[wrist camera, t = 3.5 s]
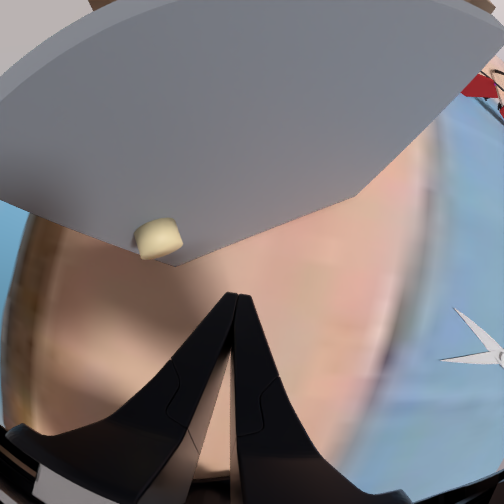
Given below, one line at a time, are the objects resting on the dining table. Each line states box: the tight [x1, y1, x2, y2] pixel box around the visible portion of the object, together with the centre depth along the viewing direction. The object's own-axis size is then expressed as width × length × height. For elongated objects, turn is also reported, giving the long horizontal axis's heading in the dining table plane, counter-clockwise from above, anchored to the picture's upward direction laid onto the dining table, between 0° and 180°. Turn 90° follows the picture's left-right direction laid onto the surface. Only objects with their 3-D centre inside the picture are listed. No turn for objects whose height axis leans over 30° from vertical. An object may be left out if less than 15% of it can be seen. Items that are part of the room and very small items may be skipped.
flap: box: [0, 0, 504, 267], centre depth 9 cm, size 2×12×14 cm, turn 112°
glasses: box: [460, 69, 504, 118], centre depth 18 cm, size 14×16×5 cm
